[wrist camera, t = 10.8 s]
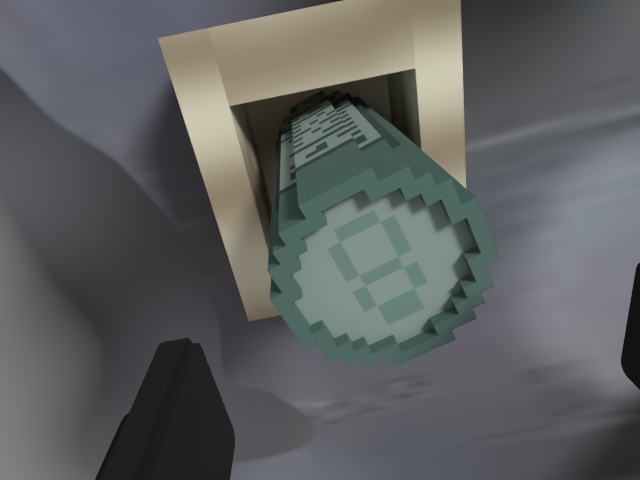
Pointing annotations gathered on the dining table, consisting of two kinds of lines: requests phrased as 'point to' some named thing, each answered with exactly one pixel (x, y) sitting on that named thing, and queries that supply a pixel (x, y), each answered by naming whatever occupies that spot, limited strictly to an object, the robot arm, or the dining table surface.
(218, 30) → the well block
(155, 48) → the dining table surface
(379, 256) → the can
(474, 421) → the dining table surface
